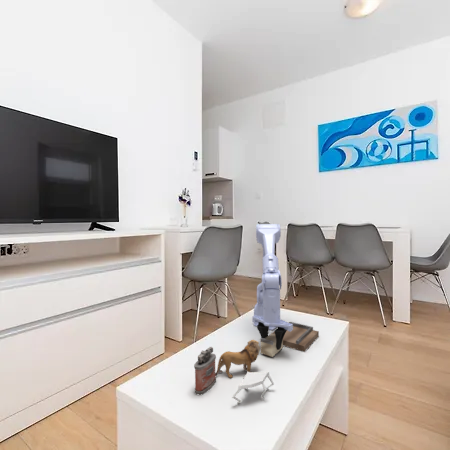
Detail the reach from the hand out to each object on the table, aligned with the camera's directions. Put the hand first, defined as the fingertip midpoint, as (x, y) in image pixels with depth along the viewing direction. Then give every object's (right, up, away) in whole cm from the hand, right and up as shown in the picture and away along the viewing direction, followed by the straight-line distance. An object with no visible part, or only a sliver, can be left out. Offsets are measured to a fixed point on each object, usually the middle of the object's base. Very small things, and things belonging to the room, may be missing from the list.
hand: (272, 346), depth 95 cm
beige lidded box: (0, -2, 0) cm, 2 cm away
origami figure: (-10, -3, -23) cm, 25 cm away
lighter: (-22, -3, -19) cm, 29 cm away
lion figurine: (-12, -3, -12) cm, 17 cm away
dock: (+10, -2, +10) cm, 14 cm away
